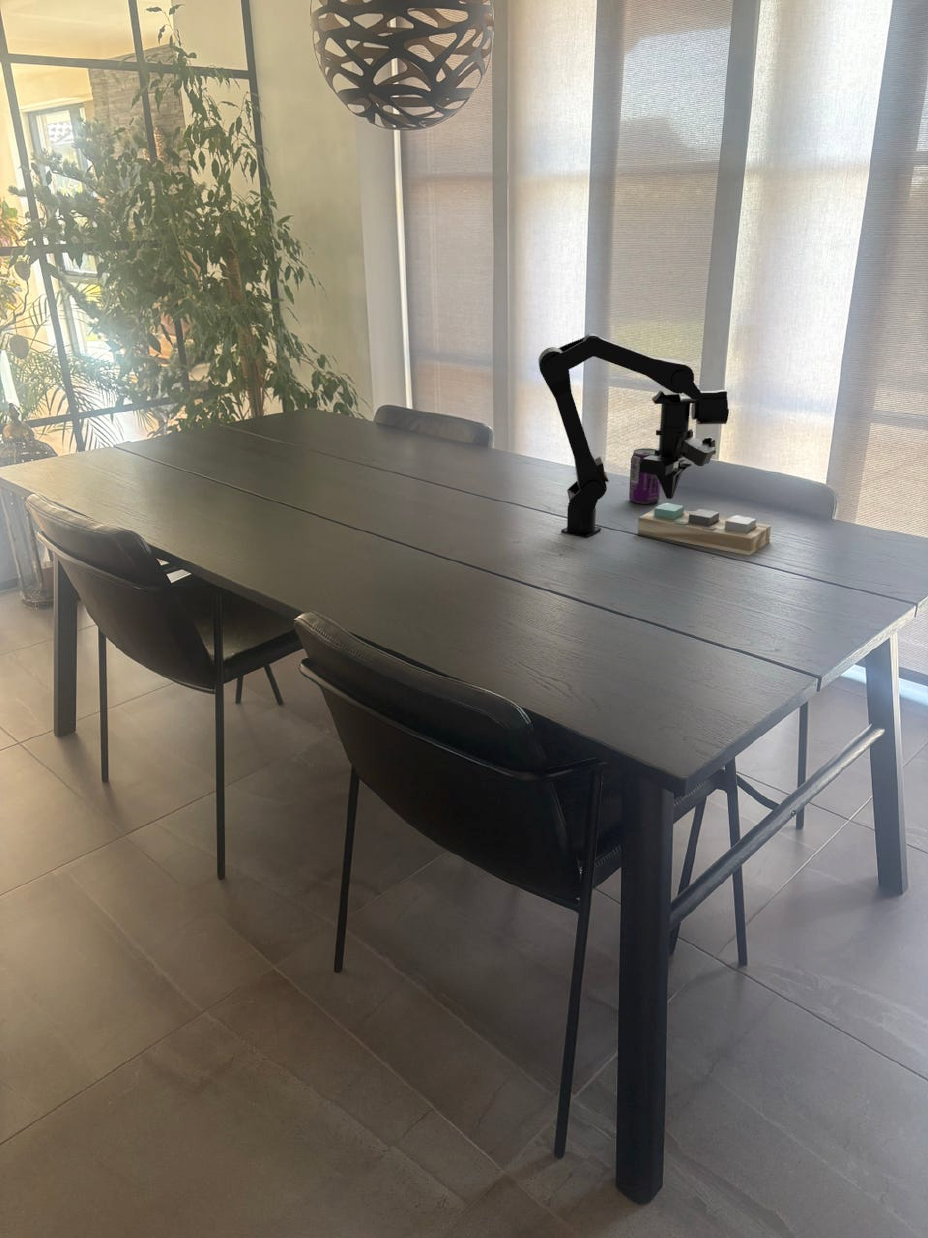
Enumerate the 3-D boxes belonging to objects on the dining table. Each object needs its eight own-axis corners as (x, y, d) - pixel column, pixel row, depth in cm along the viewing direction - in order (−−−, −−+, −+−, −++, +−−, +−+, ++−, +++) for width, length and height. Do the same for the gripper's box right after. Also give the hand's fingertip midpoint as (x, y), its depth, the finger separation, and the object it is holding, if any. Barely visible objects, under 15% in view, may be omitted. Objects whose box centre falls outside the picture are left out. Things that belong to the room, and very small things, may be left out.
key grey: (745, 538, 187) (747, 524, 186) (724, 534, 190) (725, 520, 189) (754, 532, 190) (756, 518, 189) (733, 528, 193) (734, 514, 192)
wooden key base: (749, 555, 185) (751, 537, 183) (637, 533, 199) (638, 516, 198) (769, 541, 192) (771, 524, 190) (659, 521, 206) (660, 505, 205)
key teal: (673, 525, 196) (674, 511, 195) (653, 521, 199) (654, 507, 198) (683, 519, 200) (684, 506, 198) (663, 516, 202) (664, 502, 201)
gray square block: (708, 531, 192) (709, 517, 191) (688, 527, 194) (689, 514, 193) (718, 526, 195) (719, 512, 194) (697, 522, 198) (698, 508, 196)
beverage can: (659, 505, 217) (662, 455, 212) (628, 504, 219) (630, 454, 214) (659, 497, 224) (662, 447, 219) (629, 496, 225) (631, 447, 220)
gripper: (690, 437, 180) (684, 515, 186) (730, 421, 193) (724, 494, 199) (638, 431, 186) (634, 506, 193) (681, 415, 200) (676, 486, 206)
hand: (669, 498), depth 197 cm, fingers closed
